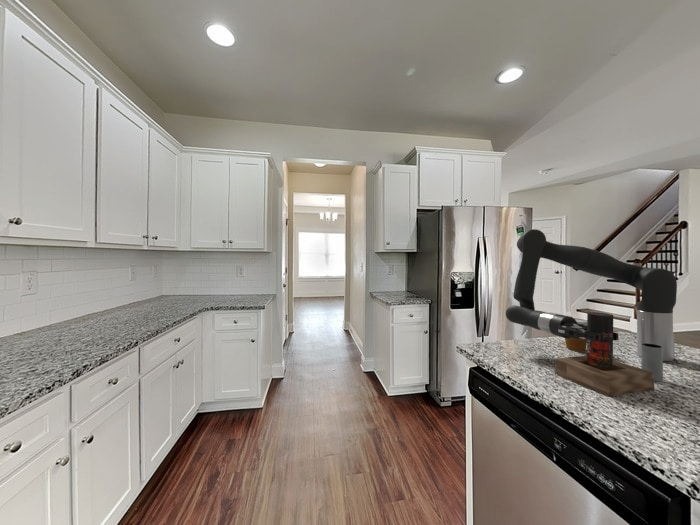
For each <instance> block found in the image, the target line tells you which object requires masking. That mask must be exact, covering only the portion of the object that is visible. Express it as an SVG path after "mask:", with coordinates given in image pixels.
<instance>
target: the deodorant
mask: <svg viewBox="0 0 700 525" xmlns="http://www.w3.org/2000/svg"><path fill="white" fill-rule="evenodd" d="M586 314H587V315H586V320H587V331H588V332H592V333H597V334H600V335H601V341H600V342H596V341H593V340H589V339H587V346H586V355H587V362H588V363H590V364H593V365H596V366H601V367H612V366H613V360H614V340H613V332H614V314H612V313H607V312H597V311H589V312H587V313H586Z"/></svg>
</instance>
